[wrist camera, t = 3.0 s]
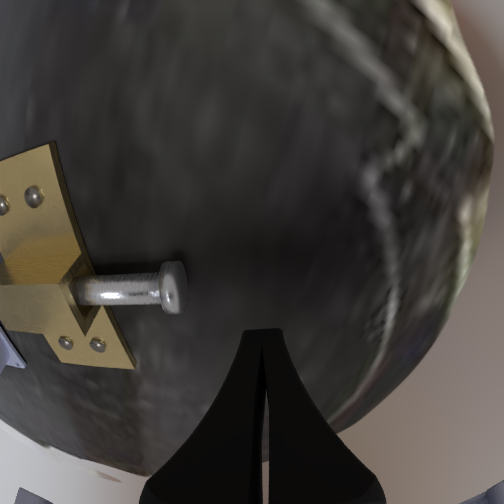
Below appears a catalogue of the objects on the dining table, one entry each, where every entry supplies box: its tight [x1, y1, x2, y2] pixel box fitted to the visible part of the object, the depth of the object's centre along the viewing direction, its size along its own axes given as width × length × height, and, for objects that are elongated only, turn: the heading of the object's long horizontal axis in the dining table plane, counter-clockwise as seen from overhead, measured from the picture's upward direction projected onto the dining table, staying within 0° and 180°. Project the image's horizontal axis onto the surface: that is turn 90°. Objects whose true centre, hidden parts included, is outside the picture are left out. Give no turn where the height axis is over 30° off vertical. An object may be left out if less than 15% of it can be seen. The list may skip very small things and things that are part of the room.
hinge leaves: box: [0, 141, 137, 369], centre depth 16 cm, size 7×16×3 cm, turn 5°
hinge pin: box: [68, 261, 188, 314], centre depth 15 cm, size 9×3×3 cm, turn 95°
